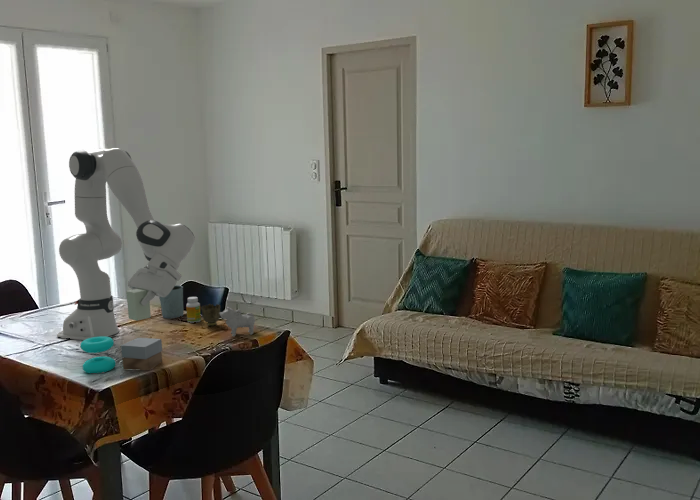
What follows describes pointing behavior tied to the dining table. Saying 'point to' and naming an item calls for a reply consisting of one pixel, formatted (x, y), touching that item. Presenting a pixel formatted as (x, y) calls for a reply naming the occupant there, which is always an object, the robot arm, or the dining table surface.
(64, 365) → the dining table surface
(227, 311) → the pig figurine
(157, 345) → the tower top slab
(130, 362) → the tower bottom slab
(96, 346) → the donuts
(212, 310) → the cup
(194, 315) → the supplement bottle
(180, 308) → the grey-blue plant pot
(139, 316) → the sage block
